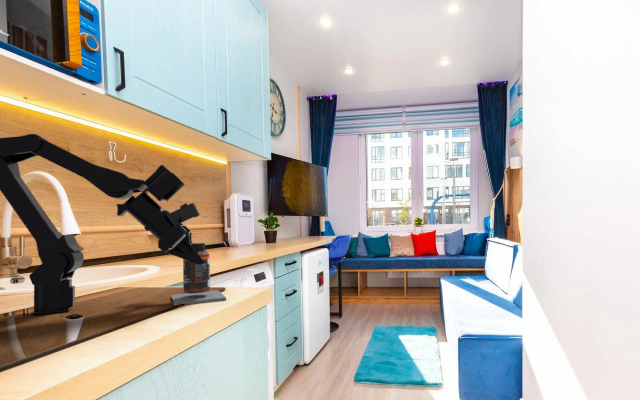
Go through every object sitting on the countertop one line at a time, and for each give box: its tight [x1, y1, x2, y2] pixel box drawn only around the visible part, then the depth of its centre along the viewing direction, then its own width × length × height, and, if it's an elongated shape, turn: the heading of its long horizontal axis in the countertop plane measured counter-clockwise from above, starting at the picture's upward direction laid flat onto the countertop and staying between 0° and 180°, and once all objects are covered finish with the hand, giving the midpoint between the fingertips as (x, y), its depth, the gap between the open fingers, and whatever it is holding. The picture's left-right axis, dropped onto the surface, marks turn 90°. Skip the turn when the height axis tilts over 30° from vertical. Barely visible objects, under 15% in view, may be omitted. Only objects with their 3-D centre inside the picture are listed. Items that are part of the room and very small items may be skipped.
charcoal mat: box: [170, 290, 227, 306], centre depth 91 cm, size 11×11×1 cm
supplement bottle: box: [182, 242, 211, 294], centre depth 91 cm, size 6×6×11 cm
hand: (202, 262), depth 92 cm, fingers closed on supplement bottle, 6 cm apart
